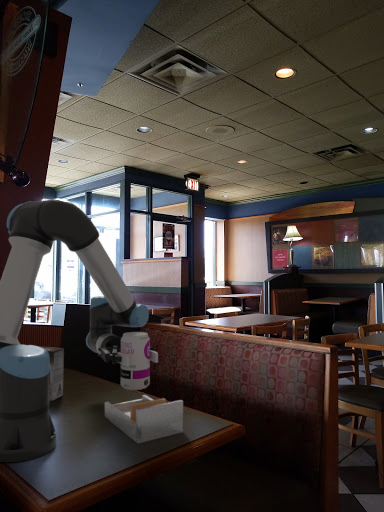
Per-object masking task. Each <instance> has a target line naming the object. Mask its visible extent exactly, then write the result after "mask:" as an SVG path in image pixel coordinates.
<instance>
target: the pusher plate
mask: <svg viewBox="0 0 384 512" xmlns="http://www.w3.org/2000/svg"><path fill="white" fill-rule="evenodd" d="M163 403H167V399H166V398H164V397H162V398H158V399H153V400H152V401H147V402H142V403H136V404H131V405H130V418H131V419H132V420H134V421H135V422H136V409H139V408H144V407H149V406H154V405H159V404H163Z"/></svg>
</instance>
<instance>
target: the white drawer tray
mask: <svg viewBox="0 0 384 512" xmlns="http://www.w3.org/2000/svg"><path fill="white" fill-rule="evenodd" d="M152 400H154V399H153V398H151V397H150V396H148V395H146V394H142V395H141V398H140V399H139V398H138V399H133V400H129V401H128V400H127V401H124V402H118V403H113V404H112V403H111V402H110V401H105V402H104V417H105V418H106V419H107V418H108V419H109V420H108V419H107V420H108V421H110V422H111V423H112V424H113V425H114V426H116V427H117V428H118V429H119V430H120V431H122V432H123V433H124V434H126V435H127V437H129V438H130V439H131V440H132V441H133V442H135V443H137V444H141V443H145V442H149V441H150V442H151V441H154V440H157V439H162V438H165V437H169V436H172V435H177V434H180V433H184V400H182V399H179V400H178V399H177V400H174V401H170V402H166V403H163V404H159V405H154V406H149V407H144V408H139V409H136V422H135V421H134V420H132V419H131V418H130V405H131V404H136V403H142V402H147V401H152Z"/></svg>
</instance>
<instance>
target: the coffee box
mask: <svg viewBox="0 0 384 512" xmlns="http://www.w3.org/2000/svg"><path fill="white" fill-rule="evenodd" d="M40 347H41V348H43V349H45V350H46V351H47V352H48V353H49V358H50V366H51V368H50V393H49V402H50V401H54V400H55V401H56V399H58V398H60V397H62V396H64V394H63V393H64V391H63V390H64V362H65V361H64V357H65V348H63V347H53V346H44V345H43V346H40Z"/></svg>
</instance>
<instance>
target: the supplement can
mask: <svg viewBox="0 0 384 512" xmlns="http://www.w3.org/2000/svg"><path fill="white" fill-rule="evenodd" d="M150 340H151V339H150V336H149V335H148V332H146V331H145V332H144V331H130V332H124V333H123V334H122V337H121V353H123V354H125V355H127V356H129V367H126V366H124V365H122V364H120V386H121V387H122V388H123V389H124V390H128V391H138V390H139V391H140V390H143V389H146V388H147V387H148V386H150V384H151V382H150V381H151V380H150V379H151V375H150V374H151V371H150V369H151V368H150V367H151V364H150V347H151V342H150Z"/></svg>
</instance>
